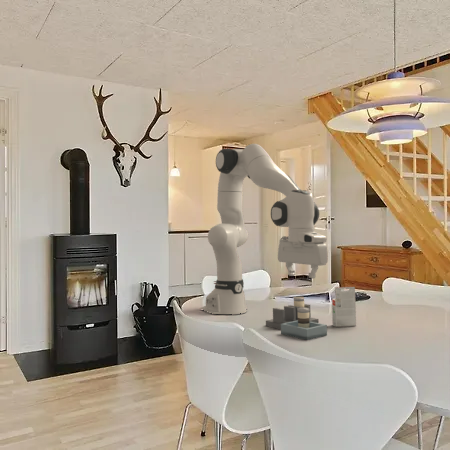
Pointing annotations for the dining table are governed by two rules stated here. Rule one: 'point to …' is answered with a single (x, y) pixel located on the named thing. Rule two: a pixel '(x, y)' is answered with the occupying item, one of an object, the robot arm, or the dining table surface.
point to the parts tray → (304, 330)
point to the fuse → (299, 301)
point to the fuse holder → (286, 316)
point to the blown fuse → (303, 317)
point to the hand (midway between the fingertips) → (301, 276)
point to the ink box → (344, 307)
